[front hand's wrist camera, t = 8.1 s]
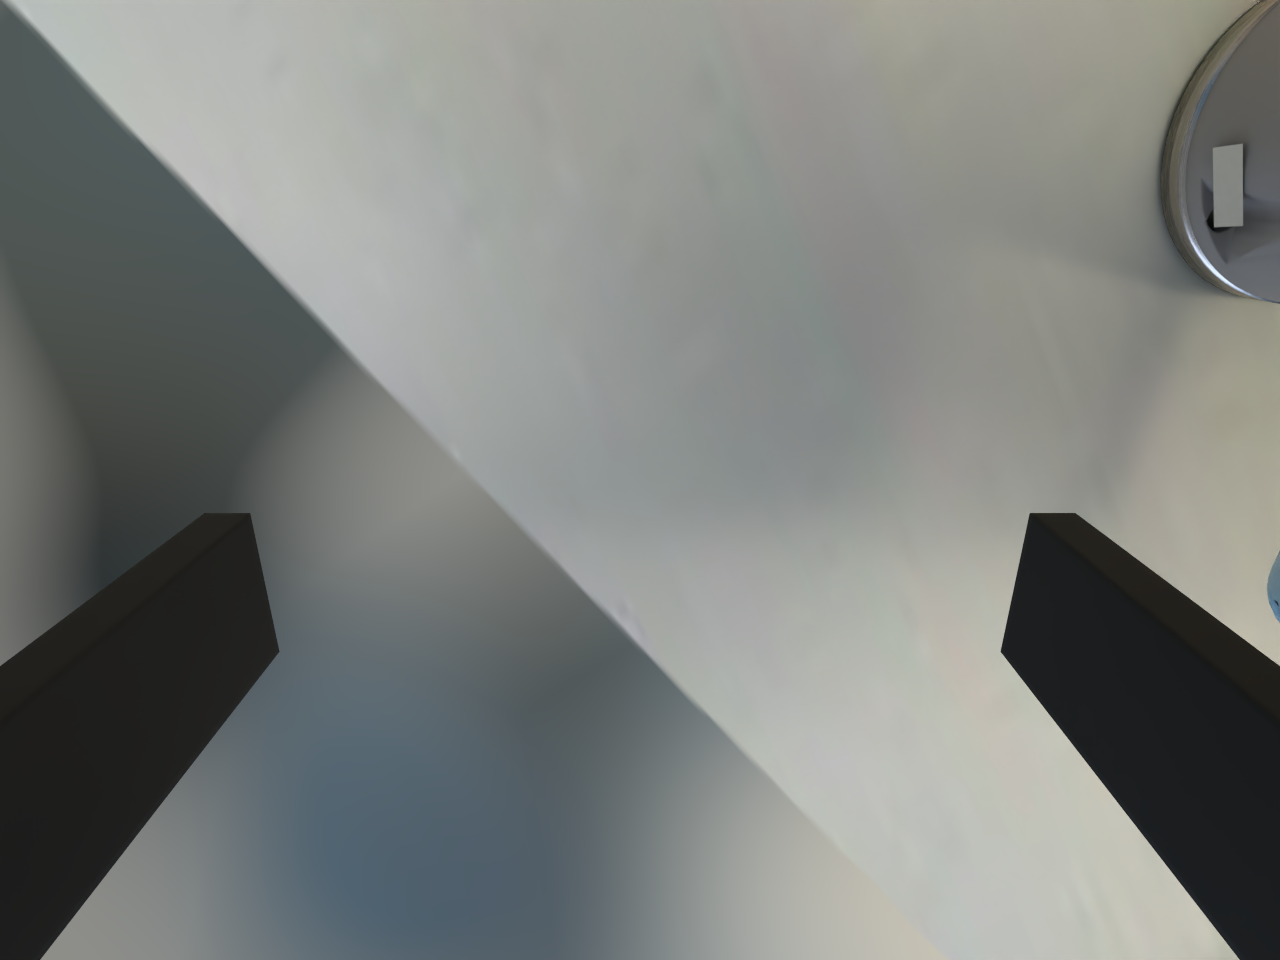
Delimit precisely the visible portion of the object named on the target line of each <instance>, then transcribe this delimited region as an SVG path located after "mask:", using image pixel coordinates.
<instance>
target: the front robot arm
mask: <svg viewBox="0 0 1280 960" xmlns="http://www.w3.org/2000/svg"><path fill="white" fill-rule="evenodd" d="M1161 198H1162V205H1163V212H1164V216H1165V220H1166V224H1167V227H1168V230H1169V232H1170V235H1171V238H1172V240H1173V242H1174V244H1175V246H1176V247H1177V249H1178V251H1179V253H1180V254H1181V255H1182V257H1183V258H1184V260H1185V261H1186V262H1187V263H1188V264H1189V266H1190V267H1191V268H1192V269H1193V270H1194V271H1195V272H1196V273H1197V274H1199V275H1200V276H1201V277H1202V278H1203V279H1205V280H1206V281H1208V282H1209V283H1211V284H1212V285H1214V286H1216V287H1218V288H1220V289H1222V290H1224V291H1226V292H1229V293H1232V294H1235V295H1238V296H1242V297H1247V298H1251V299H1257V300H1262V301H1268V302H1273V303H1280V0H1262V1H1261V2H1260V3H1258V4H1257V5H1256V6H1255V7H1253V8H1252V9H1251V10H1250V11H1248V12H1247V13H1246V14H1245V15H1244V16H1243V17H1242V18H1241V19H1240V20H1238V21H1237V22H1236V23H1235V24H1234V25H1233V26H1232V27H1231V28H1230V29H1229V31H1228V32H1227V33H1226V34H1225V35H1224V36H1223V37H1222V38H1221V39H1220V40H1219V42H1218V43H1217V44H1216V45H1215V46H1214V48H1213V49H1212V50H1211V51H1210V53H1209V54H1208V55H1207V57H1206V58H1205V60H1204V61H1203V62H1202V64H1201V65H1200V67H1199V68H1198V70H1197V71H1196V73H1195V75H1194V76H1193V78H1192V80H1191V81H1190V83H1189V85H1188V87H1187V89H1186V91H1185V93H1184V95H1183V97H1182V99H1181V100H1180V103H1179V105H1178V108H1177V110H1176V112H1175V115H1174V117H1173V120H1172V123H1171V126H1170V130H1169V133H1168V136H1167V141H1166V145H1165V149H1164V155H1163V162H1162V171H1161ZM1267 592H1268V600H1269V603H1270V605H1271V608H1272V610H1273V612H1274V615H1275V617H1276V619H1277V620H1278V621H1279V622H1280V551H1279V553H1278V556H1277V558H1276V560H1275V562H1274V564H1273V567H1272V569H1271V572H1270V574H1269V578H1268V584H1267ZM278 653H279V648H278V643H277V639H276V634H275V629H274V624H273V619H272V615H271V610H270V605H269V601H268V596H267V591H266V586H265V582H264V577H263V572H262V567H261V563H260V558H259V553H258V548H257V544H256V539H255V534H254V529H253V525H252V520H251V515H250V513H204V514H203V515H202V516H200V517H199V518H198V519H196V520H195V521H194V522H192V523H191V524H189V525H188V526H187V527H186V528H184V529H183V530H181V531H180V532H179V533H177V534H176V535H175V536H173V537H172V538H171V539H170V540H168V541H167V542H165V543H164V544H163V545H161V546H160V547H159V548H157V549H156V550H155V551H153V552H152V553H151V554H149V555H148V556H147V557H145V558H144V559H143V560H141V561H140V562H139V563H137V564H136V565H135V566H133V567H132V568H131V569H129V570H128V571H127V572H125V573H124V574H123V575H121V576H120V577H119V578H117V579H116V580H115V581H113V582H112V583H111V584H109V585H108V586H107V587H105V588H104V589H103V590H101V591H100V592H99V593H97V594H96V595H95V596H93V597H92V598H91V599H89V600H88V601H87V602H85V603H84V604H83V605H81V606H80V607H79V608H77V609H76V610H75V611H73V612H72V613H71V614H69V615H68V616H67V617H65V618H64V619H63V620H61V621H60V622H59V623H57V624H56V625H55V626H53V627H52V628H51V629H49V630H48V631H47V632H45V633H44V634H43V635H41V636H40V637H39V638H37V639H36V640H35V641H33V642H32V643H31V644H29V645H28V646H27V647H25V648H24V649H23V650H21V651H20V652H19V653H17V654H16V655H15V656H13V657H12V658H11V659H9V660H8V661H7V662H5V663H4V664H3V665H1V666H0V960H40V959H41V958H42V957H43V955H44V954H45V953H46V951H47V950H48V949H49V948H50V946H51V945H52V944H53V942H54V941H55V940H56V939H57V937H58V936H59V935H60V933H61V932H62V931H63V930H64V928H65V927H66V926H67V924H68V923H69V922H70V921H71V919H72V918H73V917H74V915H75V914H76V913H77V912H78V910H79V909H80V908H81V906H82V905H83V904H84V903H85V901H86V900H87V899H88V897H89V896H90V895H91V894H92V892H93V891H94V890H95V888H96V887H97V886H98V885H99V883H100V882H101V881H102V879H103V878H104V877H105V876H106V874H107V873H108V872H109V870H110V869H111V868H112V866H113V865H114V864H115V863H116V861H117V860H118V859H119V857H120V856H121V855H122V854H123V852H124V851H125V850H126V848H127V847H128V846H129V845H130V843H131V842H132V841H133V839H134V838H135V837H136V835H137V834H138V833H139V832H140V830H141V829H142V828H143V827H144V825H145V824H146V823H147V821H148V820H149V819H150V818H151V816H152V815H153V814H154V812H155V811H156V810H157V808H158V807H159V806H160V805H161V803H162V802H163V801H164V800H165V798H166V797H167V796H168V794H169V793H170V792H171V791H172V789H173V788H174V787H175V785H176V784H177V783H178V781H179V780H180V779H181V778H182V776H183V775H184V774H185V772H186V771H187V770H188V769H189V767H190V766H191V765H192V763H193V762H194V761H195V760H196V758H197V757H198V756H199V754H200V753H201V752H202V751H203V749H204V748H205V747H206V745H207V744H208V743H209V742H210V740H211V739H212V738H213V736H214V735H215V734H216V733H217V731H218V730H219V729H220V727H221V726H222V725H223V723H224V722H225V721H226V720H227V718H228V717H229V716H230V715H231V713H232V712H233V711H234V709H235V708H236V707H237V705H238V704H239V703H240V702H241V700H242V699H243V698H244V696H245V695H246V694H247V693H248V691H249V690H250V689H251V687H252V686H253V685H254V684H255V682H256V681H257V680H258V678H259V677H260V676H261V675H262V673H263V672H264V671H265V669H266V668H267V667H268V666H269V664H270V663H271V662H272V660H273V659H274V658H275V656H276V655H277V654H278ZM1001 653H1002V654H1003V655H1004V657H1005V658H1006V659H1007V660H1008V662H1009V663H1010V664H1011V666H1012V667H1013V668H1014V669H1015V671H1016V672H1017V673H1018V675H1019V676H1020V677H1021V678H1022V680H1023V681H1024V682H1025V684H1026V685H1027V686H1028V687H1029V689H1030V690H1031V691H1032V693H1033V694H1034V695H1035V696H1036V698H1037V699H1038V700H1039V702H1040V703H1041V704H1042V705H1043V707H1044V708H1045V709H1046V711H1047V712H1048V713H1049V715H1050V716H1051V717H1052V718H1053V720H1054V721H1055V722H1056V724H1057V725H1058V726H1059V727H1060V729H1061V730H1062V731H1063V733H1064V734H1065V735H1066V736H1067V738H1068V739H1069V740H1070V742H1071V743H1072V744H1073V745H1074V747H1075V748H1076V749H1077V751H1078V752H1079V753H1080V754H1081V756H1082V757H1083V758H1084V760H1085V761H1086V762H1087V763H1088V765H1089V766H1090V767H1091V769H1092V770H1093V771H1094V772H1095V774H1096V775H1097V776H1098V778H1099V779H1100V780H1101V781H1102V783H1103V784H1104V785H1105V787H1106V788H1107V789H1108V791H1109V792H1110V793H1111V794H1112V796H1113V797H1114V798H1115V800H1116V801H1117V802H1118V803H1119V805H1120V806H1121V807H1122V809H1123V810H1124V811H1125V812H1126V814H1127V815H1128V816H1129V818H1130V819H1131V820H1132V821H1133V823H1134V824H1135V825H1136V827H1137V828H1138V829H1139V830H1140V832H1141V833H1142V834H1143V836H1144V837H1145V838H1146V839H1147V841H1148V842H1149V843H1150V845H1151V846H1152V847H1153V848H1154V850H1155V851H1156V852H1157V854H1158V855H1159V856H1160V857H1161V859H1162V860H1163V861H1164V863H1165V864H1166V865H1167V866H1168V868H1169V869H1170V870H1171V872H1172V873H1173V874H1174V876H1175V877H1176V878H1177V879H1178V881H1179V882H1180V883H1181V885H1182V886H1183V887H1184V888H1185V890H1186V891H1187V892H1188V894H1189V895H1190V896H1191V897H1192V899H1193V900H1194V901H1195V903H1196V904H1197V905H1198V906H1199V908H1200V909H1201V910H1202V912H1203V913H1204V914H1205V915H1206V917H1207V918H1208V919H1209V921H1210V922H1211V923H1212V924H1213V926H1214V927H1215V928H1216V930H1217V931H1218V932H1219V933H1220V935H1221V936H1222V937H1223V939H1224V940H1225V941H1226V942H1227V944H1228V945H1229V946H1230V948H1231V949H1232V950H1233V951H1234V953H1235V954H1236V955H1237V957H1238V958H1239V959H1240V960H1280V666H1279V665H1277V664H1276V663H1275V662H1273V661H1272V660H1271V659H1269V658H1268V657H1267V656H1265V655H1264V654H1263V653H1261V652H1260V651H1259V650H1257V649H1256V648H1255V647H1253V646H1252V645H1251V644H1249V643H1248V642H1247V641H1245V640H1244V639H1243V638H1241V637H1240V636H1239V635H1237V634H1236V633H1235V632H1233V631H1232V630H1231V629H1229V628H1228V627H1227V626H1225V625H1224V624H1223V623H1221V622H1220V621H1219V620H1217V619H1216V618H1215V617H1213V616H1212V615H1211V614H1209V613H1208V612H1207V611H1205V610H1204V609H1203V608H1201V607H1200V606H1199V605H1197V604H1196V603H1195V602H1193V601H1192V600H1191V599H1189V598H1188V597H1187V596H1185V595H1184V594H1183V593H1181V592H1180V591H1179V590H1177V589H1176V588H1175V587H1173V586H1172V585H1171V584H1169V583H1168V582H1167V581H1165V580H1164V579H1163V578H1161V577H1160V576H1159V575H1157V574H1156V573H1155V572H1153V571H1152V570H1151V569H1149V568H1148V567H1147V566H1145V565H1144V564H1143V563H1141V562H1140V561H1139V560H1137V559H1136V558H1135V557H1133V556H1132V555H1131V554H1129V553H1128V552H1127V551H1125V550H1124V549H1123V548H1121V547H1120V546H1119V545H1117V544H1116V543H1115V542H1113V541H1112V540H1111V539H1109V538H1108V537H1107V536H1105V535H1104V534H1103V533H1101V532H1100V531H1099V530H1097V529H1096V528H1095V527H1093V526H1092V525H1091V524H1089V523H1088V522H1087V521H1085V520H1084V519H1082V518H1081V517H1080V516H1078V515H1077V514H1076V513H1030V515H1029V520H1028V525H1027V529H1026V534H1025V539H1024V544H1023V548H1022V553H1021V558H1020V563H1019V567H1018V572H1017V577H1016V582H1015V586H1014V591H1013V596H1012V600H1011V605H1010V610H1009V615H1008V619H1007V624H1006V629H1005V634H1004V638H1003V643H1002V648H1001Z"/></svg>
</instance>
